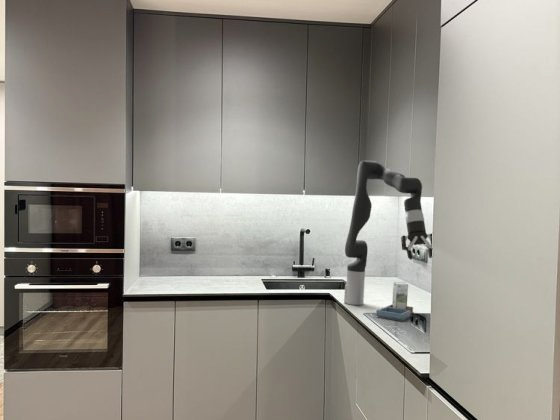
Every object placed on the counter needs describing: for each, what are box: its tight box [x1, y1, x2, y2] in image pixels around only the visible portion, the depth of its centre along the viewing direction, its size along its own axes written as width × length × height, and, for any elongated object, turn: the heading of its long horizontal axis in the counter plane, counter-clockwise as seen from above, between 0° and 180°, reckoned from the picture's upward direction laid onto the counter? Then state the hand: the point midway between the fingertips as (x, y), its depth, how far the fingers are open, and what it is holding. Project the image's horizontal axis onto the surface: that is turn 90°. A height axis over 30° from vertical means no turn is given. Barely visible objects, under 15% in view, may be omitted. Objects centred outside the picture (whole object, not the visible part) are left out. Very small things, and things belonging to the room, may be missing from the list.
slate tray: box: [375, 306, 412, 322], centre depth 214 cm, size 12×12×3 cm
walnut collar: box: [386, 304, 414, 314], centre depth 226 cm, size 10×10×2 cm
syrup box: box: [391, 281, 409, 309], centre depth 226 cm, size 6×6×14 cm
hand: (420, 258), depth 197 cm, fingers open, 8 cm apart
